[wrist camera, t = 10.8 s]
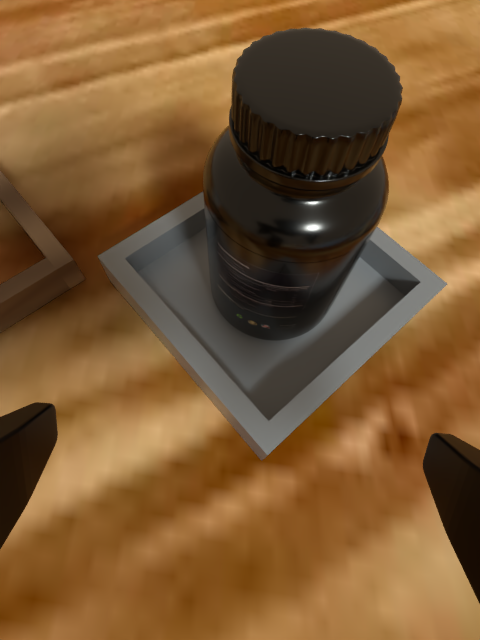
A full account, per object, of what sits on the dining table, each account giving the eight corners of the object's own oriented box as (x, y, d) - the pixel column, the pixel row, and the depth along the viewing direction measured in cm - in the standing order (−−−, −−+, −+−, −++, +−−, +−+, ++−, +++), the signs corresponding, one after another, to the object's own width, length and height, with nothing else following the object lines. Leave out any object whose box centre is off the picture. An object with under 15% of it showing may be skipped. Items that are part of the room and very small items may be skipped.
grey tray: (424, 305, 22) (447, 284, 20) (261, 460, 18) (267, 455, 16) (272, 176, 26) (277, 145, 24) (110, 281, 22) (97, 256, 20)
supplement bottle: (235, 224, 23) (248, -17, 12) (343, 261, 22) (460, 38, 12) (189, 319, 20) (154, 115, 9) (310, 364, 20) (424, 199, 9)
